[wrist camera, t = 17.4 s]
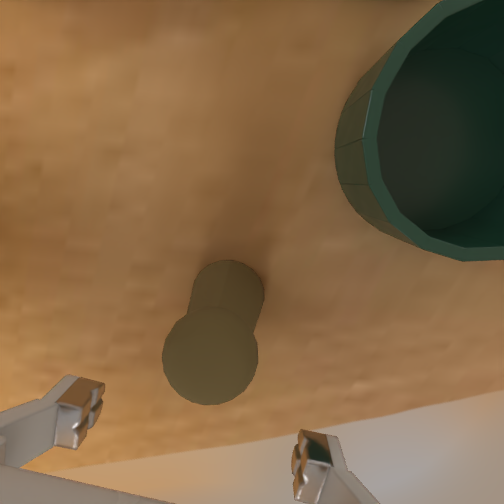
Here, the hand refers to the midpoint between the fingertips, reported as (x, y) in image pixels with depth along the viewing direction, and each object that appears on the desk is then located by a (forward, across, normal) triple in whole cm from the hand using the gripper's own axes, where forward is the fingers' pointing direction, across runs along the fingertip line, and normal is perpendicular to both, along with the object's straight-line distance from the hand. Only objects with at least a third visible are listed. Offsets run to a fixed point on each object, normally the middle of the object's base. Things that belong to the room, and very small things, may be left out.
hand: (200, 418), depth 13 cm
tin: (+14, -12, -15) cm, 24 cm away
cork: (+14, 0, 0) cm, 14 cm away
